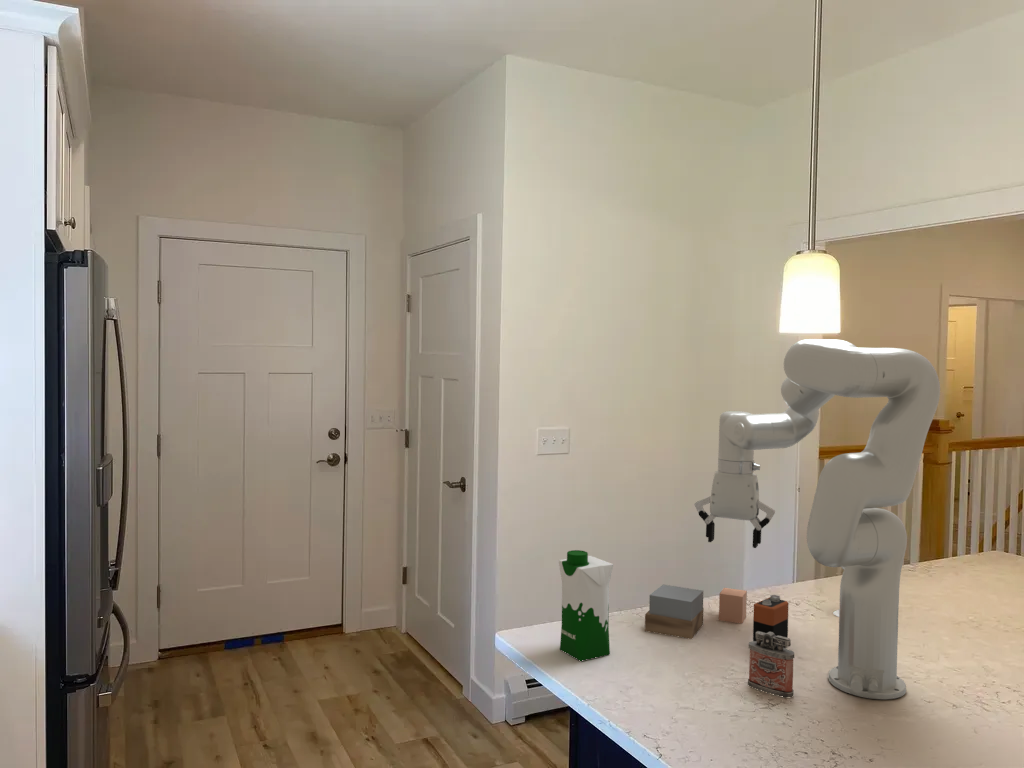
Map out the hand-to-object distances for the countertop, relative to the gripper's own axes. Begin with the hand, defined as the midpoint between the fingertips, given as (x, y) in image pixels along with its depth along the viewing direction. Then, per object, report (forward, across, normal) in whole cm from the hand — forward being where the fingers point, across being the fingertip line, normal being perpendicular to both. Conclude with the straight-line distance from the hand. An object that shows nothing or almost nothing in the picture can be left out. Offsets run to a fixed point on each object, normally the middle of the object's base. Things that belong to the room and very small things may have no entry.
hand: (732, 543), depth 174 cm
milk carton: (+17, +21, +34) cm, 44 cm away
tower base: (+17, +9, +12) cm, 23 cm away
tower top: (+13, +9, +12) cm, 20 cm away
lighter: (+16, -14, +36) cm, 41 cm away
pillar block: (+17, -1, 0) cm, 17 cm away
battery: (+17, -11, +14) cm, 24 cm away
